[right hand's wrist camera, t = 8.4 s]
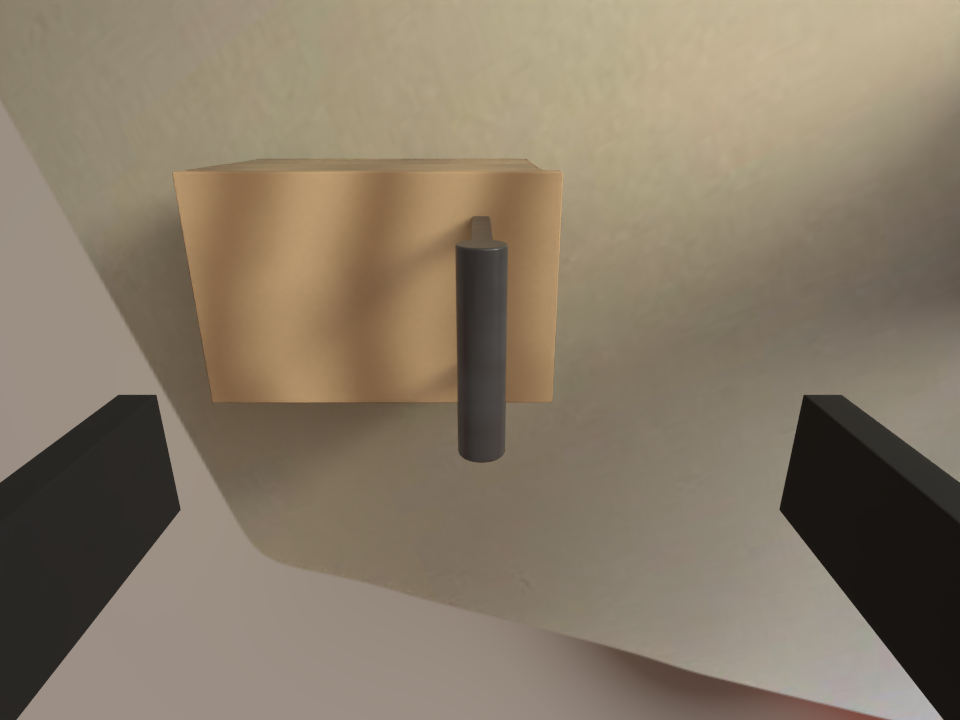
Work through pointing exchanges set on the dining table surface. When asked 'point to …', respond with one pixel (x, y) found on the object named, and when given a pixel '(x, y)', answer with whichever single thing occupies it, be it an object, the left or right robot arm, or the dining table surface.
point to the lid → (378, 288)
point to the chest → (377, 165)
